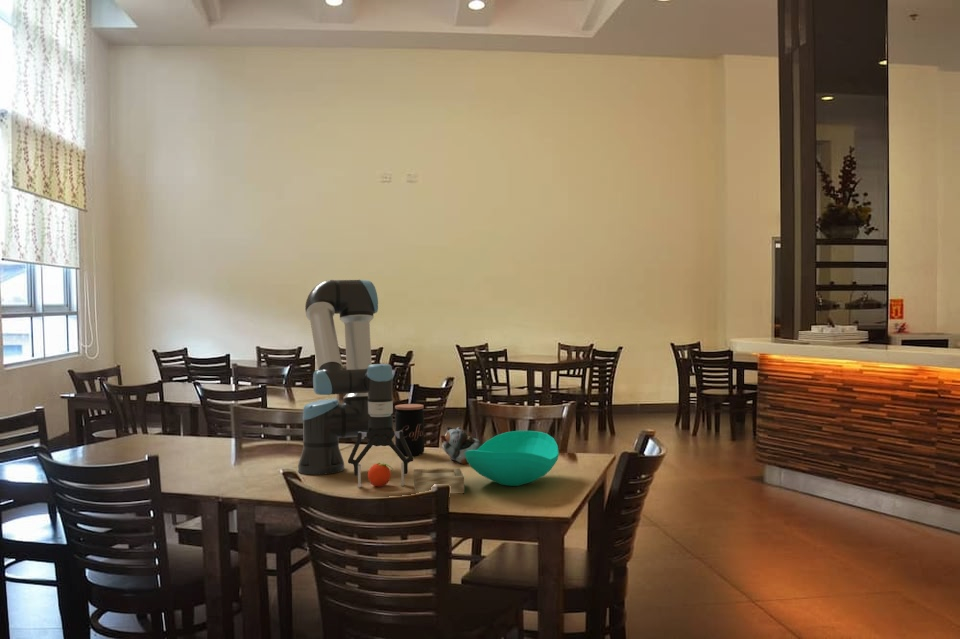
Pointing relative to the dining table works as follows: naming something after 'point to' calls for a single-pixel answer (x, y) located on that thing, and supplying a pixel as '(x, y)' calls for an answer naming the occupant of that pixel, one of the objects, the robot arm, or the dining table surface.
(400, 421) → the coffee jar
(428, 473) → the tray
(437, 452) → the dining table surface
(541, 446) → the table top decor
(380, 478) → the clementine
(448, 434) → the grey sculpted piece
